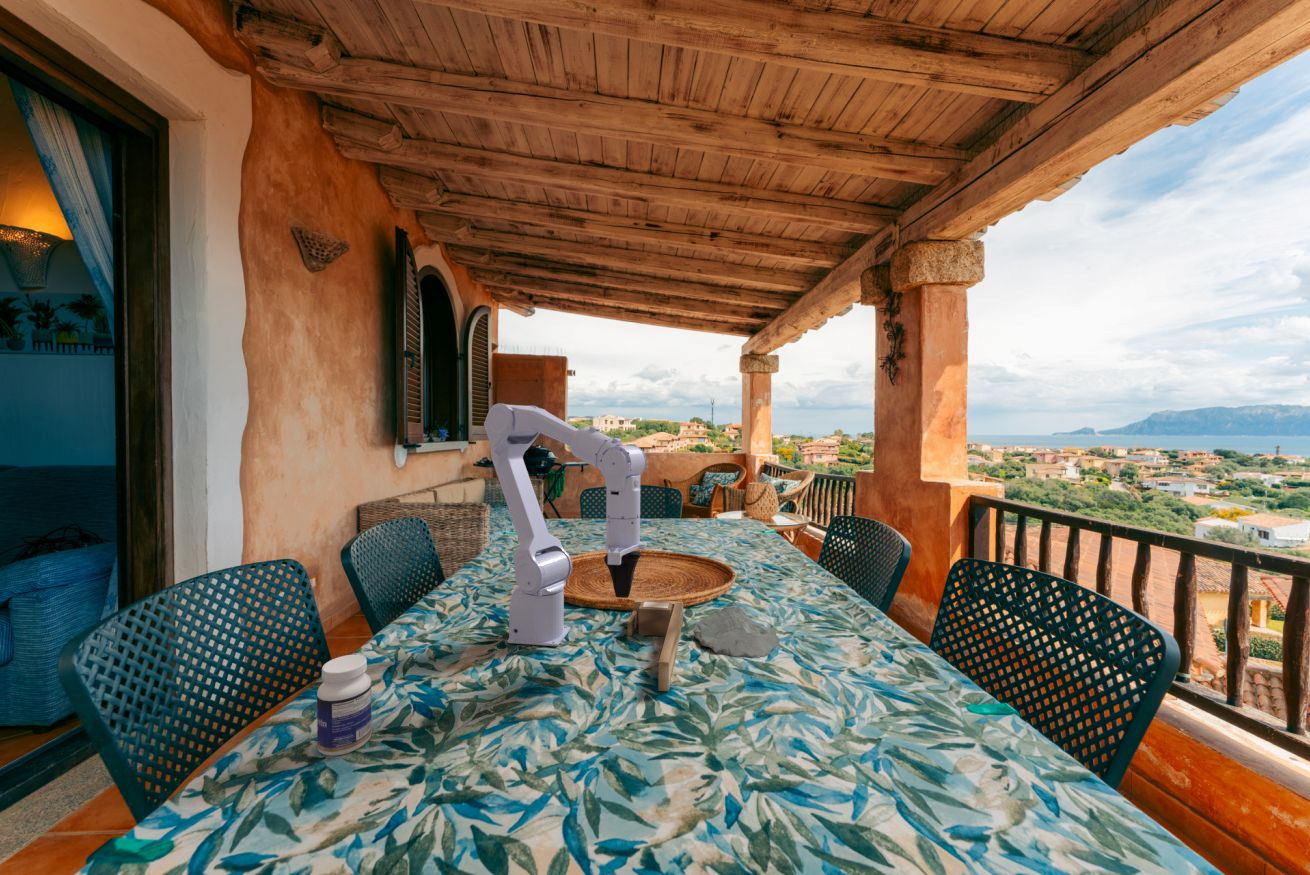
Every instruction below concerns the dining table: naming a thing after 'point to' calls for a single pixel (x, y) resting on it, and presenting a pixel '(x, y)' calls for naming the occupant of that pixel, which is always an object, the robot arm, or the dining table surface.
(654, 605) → the cabinet block
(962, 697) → the dining table surface
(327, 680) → the pill bottle
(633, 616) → the wooden bracket
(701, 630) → the stone
